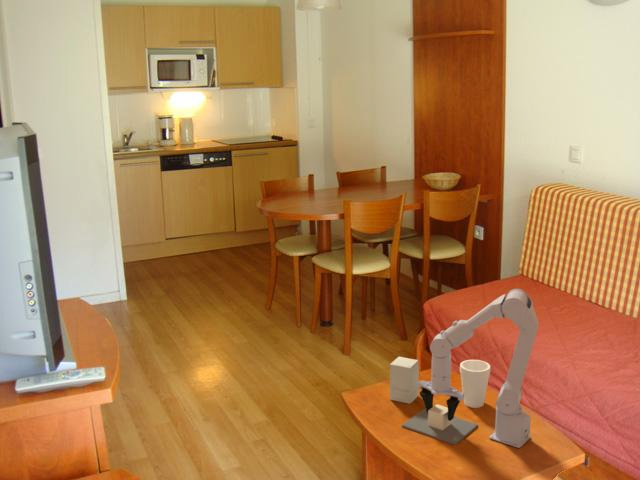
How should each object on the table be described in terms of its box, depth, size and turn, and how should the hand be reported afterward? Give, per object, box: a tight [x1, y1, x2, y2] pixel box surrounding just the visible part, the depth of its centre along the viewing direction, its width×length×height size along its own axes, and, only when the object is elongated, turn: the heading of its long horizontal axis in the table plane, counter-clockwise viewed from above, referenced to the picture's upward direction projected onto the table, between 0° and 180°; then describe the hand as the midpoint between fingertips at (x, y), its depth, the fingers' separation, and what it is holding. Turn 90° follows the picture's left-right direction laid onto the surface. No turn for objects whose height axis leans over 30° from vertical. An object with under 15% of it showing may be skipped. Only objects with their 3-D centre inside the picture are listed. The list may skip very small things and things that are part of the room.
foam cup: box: [459, 359, 491, 409], centre depth 234 cm, size 10×9×13 cm
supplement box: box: [389, 356, 420, 405], centre depth 239 cm, size 7×7×13 cm
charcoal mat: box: [401, 407, 479, 446], centre depth 221 cm, size 18×14×1 cm
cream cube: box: [428, 404, 451, 430], centre depth 220 cm, size 5×5×5 cm
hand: (440, 415), depth 220 cm, fingers open, 7 cm apart
